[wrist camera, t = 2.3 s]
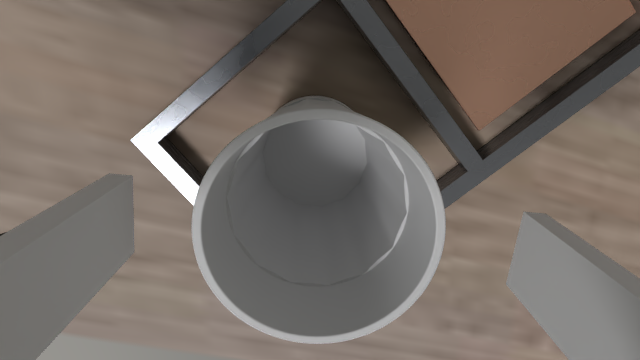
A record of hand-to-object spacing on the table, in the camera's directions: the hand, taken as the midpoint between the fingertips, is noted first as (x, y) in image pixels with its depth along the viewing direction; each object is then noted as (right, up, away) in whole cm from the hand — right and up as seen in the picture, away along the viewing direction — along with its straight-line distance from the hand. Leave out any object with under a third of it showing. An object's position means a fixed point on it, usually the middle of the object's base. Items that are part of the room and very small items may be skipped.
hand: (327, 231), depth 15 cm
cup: (-1, +3, +11) cm, 11 cm away
